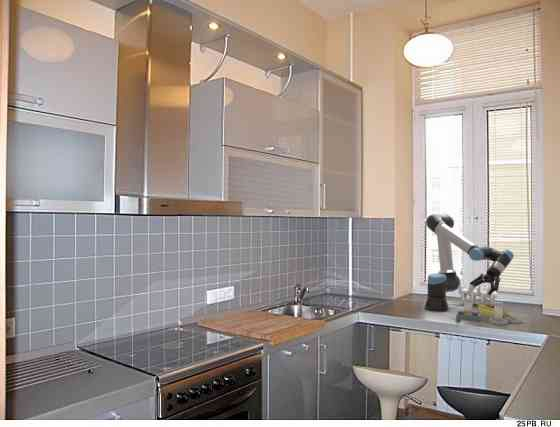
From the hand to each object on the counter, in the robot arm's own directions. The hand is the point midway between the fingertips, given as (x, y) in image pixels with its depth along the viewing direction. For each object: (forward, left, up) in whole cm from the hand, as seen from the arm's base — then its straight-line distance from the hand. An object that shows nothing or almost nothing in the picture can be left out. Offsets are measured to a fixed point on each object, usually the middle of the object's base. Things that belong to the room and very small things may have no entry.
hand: (476, 296), depth 274 cm
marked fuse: (+4, -4, -13) cm, 14 cm away
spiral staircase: (-50, +1, -14) cm, 52 cm away
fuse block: (+7, +16, -14) cm, 22 cm away
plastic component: (-16, +9, -15) cm, 24 cm away
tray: (+4, -4, -14) cm, 15 cm away
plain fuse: (+11, +12, -13) cm, 21 cm away
